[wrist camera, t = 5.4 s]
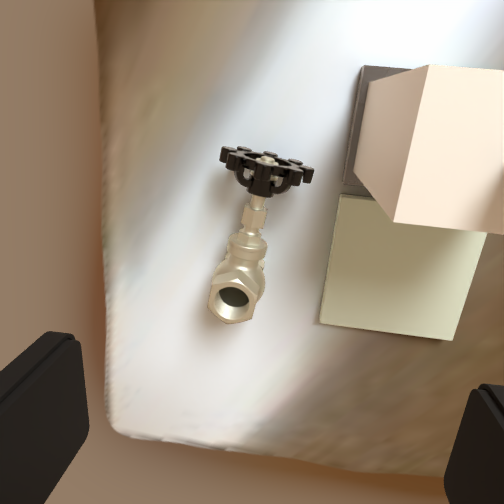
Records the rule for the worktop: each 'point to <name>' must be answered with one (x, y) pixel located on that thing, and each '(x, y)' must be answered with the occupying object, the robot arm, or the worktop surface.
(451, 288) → the pad
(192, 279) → the worktop surface
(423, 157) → the pump housing
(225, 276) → the valve
